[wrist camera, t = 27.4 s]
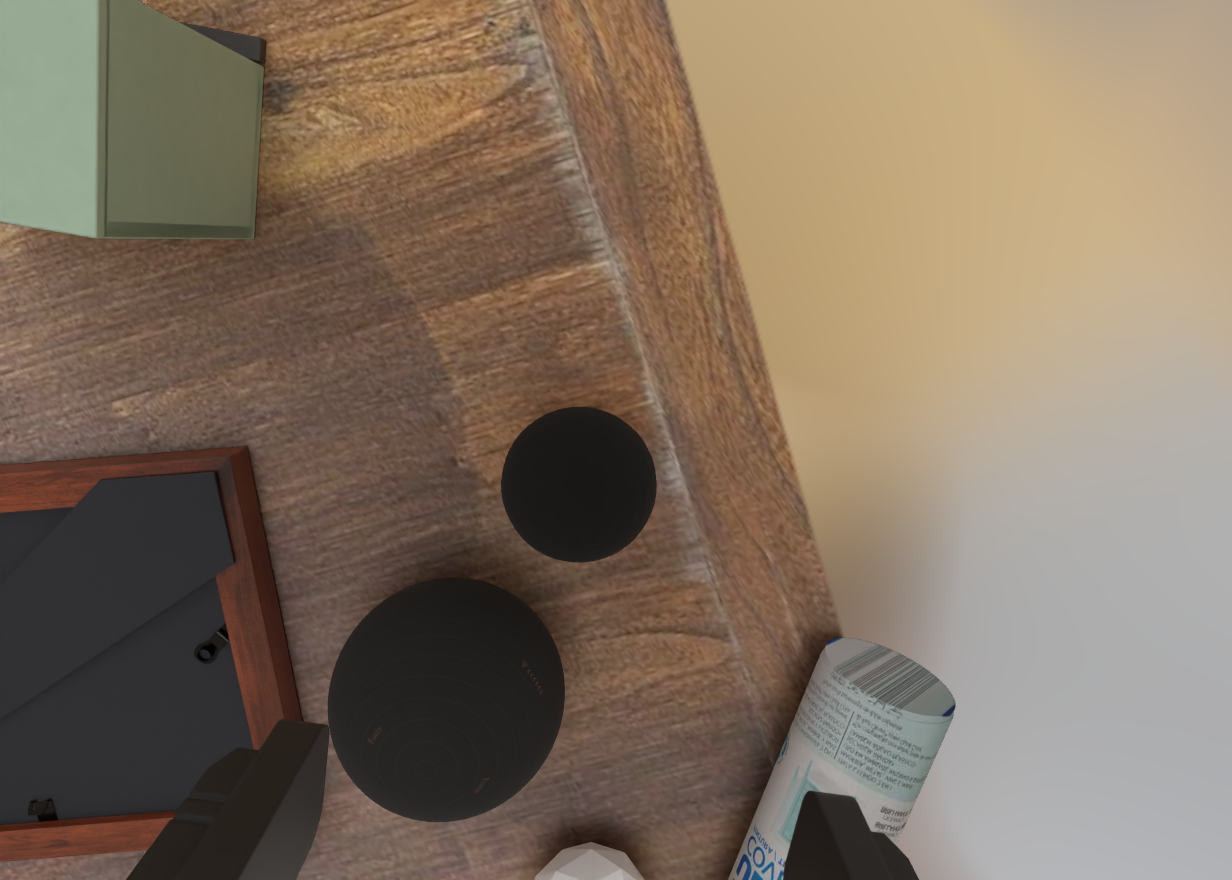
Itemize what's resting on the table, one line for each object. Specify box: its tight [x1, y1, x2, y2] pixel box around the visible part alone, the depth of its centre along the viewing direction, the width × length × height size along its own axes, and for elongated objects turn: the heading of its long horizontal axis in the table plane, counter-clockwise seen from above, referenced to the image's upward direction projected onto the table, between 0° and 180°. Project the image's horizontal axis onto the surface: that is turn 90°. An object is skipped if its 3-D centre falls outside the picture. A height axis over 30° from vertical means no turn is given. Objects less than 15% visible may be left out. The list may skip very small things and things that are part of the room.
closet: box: [0, 0, 266, 239], centre depth 27 cm, size 8×11×11 cm
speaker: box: [328, 578, 565, 822], centre depth 34 cm, size 10×10×10 cm
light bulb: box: [501, 407, 657, 562], centre depth 31 cm, size 6×6×10 cm
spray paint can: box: [728, 638, 955, 880], centre depth 38 cm, size 6×6×20 cm
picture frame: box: [0, 446, 302, 862], centre depth 37 cm, size 20×2×25 cm
